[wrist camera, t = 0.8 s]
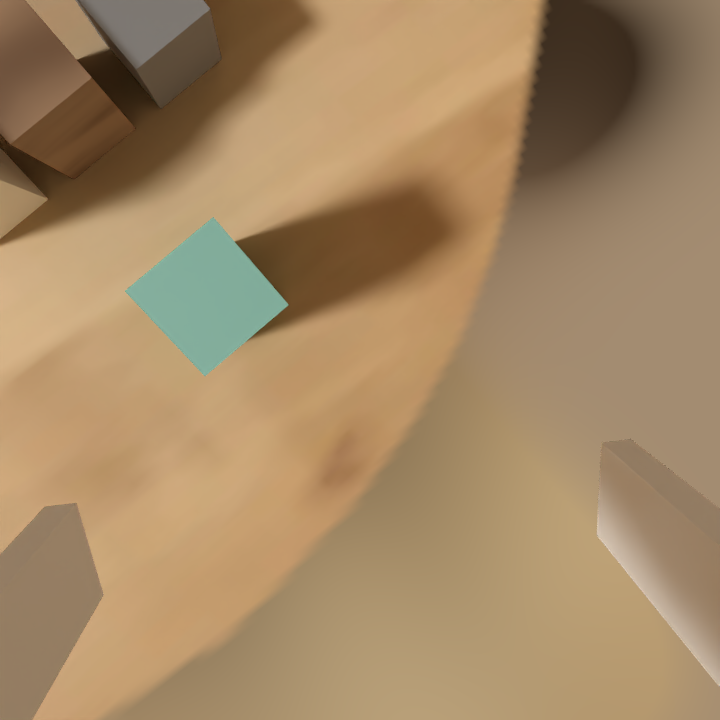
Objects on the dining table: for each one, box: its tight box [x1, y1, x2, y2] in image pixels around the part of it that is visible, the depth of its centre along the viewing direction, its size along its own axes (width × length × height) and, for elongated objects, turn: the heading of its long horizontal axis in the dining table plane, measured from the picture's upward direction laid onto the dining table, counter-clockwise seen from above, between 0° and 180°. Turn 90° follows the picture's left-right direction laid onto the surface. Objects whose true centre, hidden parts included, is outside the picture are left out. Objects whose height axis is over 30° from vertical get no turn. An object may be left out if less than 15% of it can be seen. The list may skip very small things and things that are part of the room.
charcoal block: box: [76, 0, 222, 109], centre depth 29 cm, size 5×5×6 cm
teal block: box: [125, 217, 289, 376], centre depth 29 cm, size 5×5×12 cm
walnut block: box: [0, 0, 136, 179], centre depth 28 cm, size 5×5×8 cm
